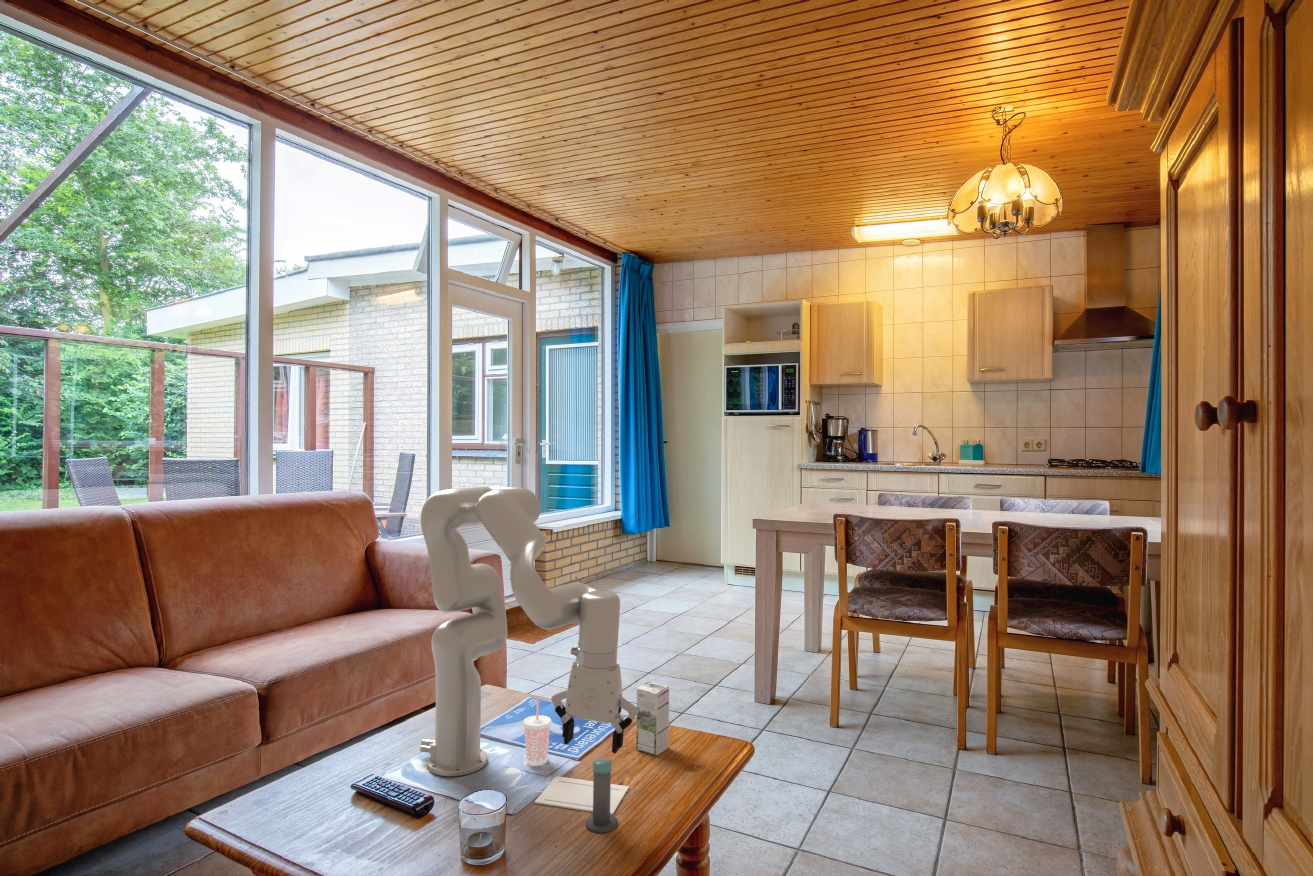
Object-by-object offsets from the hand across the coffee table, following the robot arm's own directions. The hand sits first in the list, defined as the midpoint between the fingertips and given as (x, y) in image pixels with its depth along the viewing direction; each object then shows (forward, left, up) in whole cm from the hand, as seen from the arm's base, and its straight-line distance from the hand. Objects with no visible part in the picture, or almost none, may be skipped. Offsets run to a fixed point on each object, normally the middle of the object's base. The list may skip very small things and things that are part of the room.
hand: (592, 745), depth 136 cm
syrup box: (+4, +30, -13) cm, 33 cm away
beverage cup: (-19, +17, -13) cm, 29 cm away
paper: (-4, +6, -13) cm, 14 cm away
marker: (+3, -3, -12) cm, 13 cm away
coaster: (+3, -3, -13) cm, 14 cm away
